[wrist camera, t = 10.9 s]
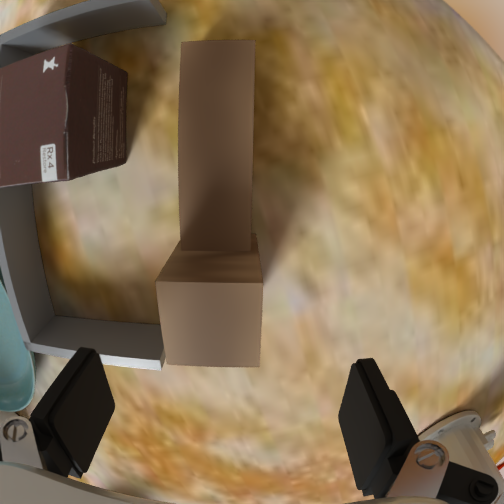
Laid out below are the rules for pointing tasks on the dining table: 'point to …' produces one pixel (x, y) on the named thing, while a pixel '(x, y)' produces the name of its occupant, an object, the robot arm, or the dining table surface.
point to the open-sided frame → (23, 218)
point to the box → (61, 117)
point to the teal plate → (13, 360)
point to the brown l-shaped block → (214, 214)
